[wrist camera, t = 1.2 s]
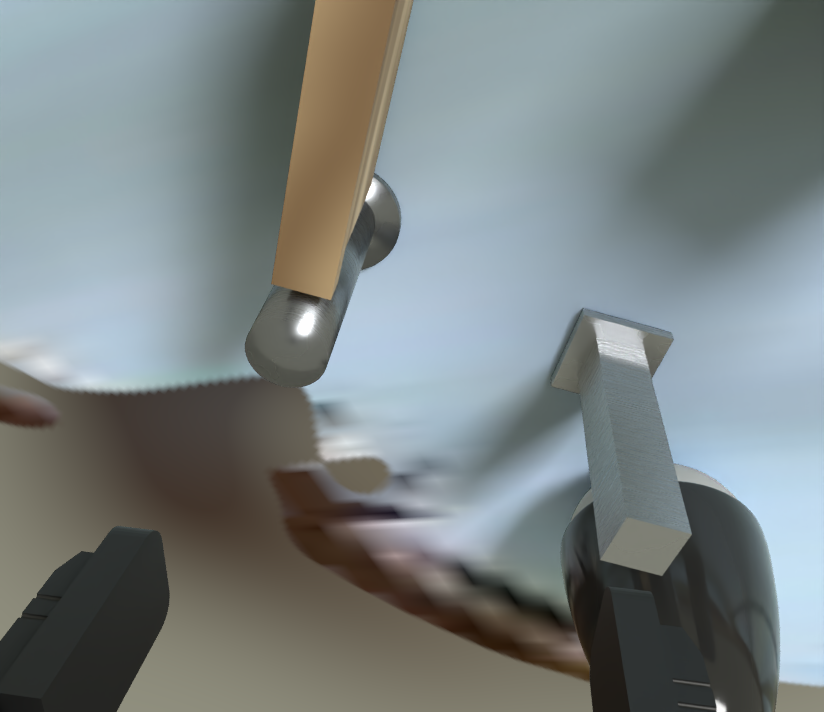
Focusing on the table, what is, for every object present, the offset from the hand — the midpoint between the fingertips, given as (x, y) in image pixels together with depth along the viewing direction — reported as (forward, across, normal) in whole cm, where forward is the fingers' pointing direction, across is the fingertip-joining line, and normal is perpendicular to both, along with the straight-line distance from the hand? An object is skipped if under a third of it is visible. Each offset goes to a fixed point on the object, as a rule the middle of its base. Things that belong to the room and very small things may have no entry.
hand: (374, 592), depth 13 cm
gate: (+21, +3, -8) cm, 23 cm away
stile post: (+24, -8, +6) cm, 26 cm away
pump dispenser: (+25, -12, +16) cm, 32 cm away
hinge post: (+22, +5, 0) cm, 23 cm away
